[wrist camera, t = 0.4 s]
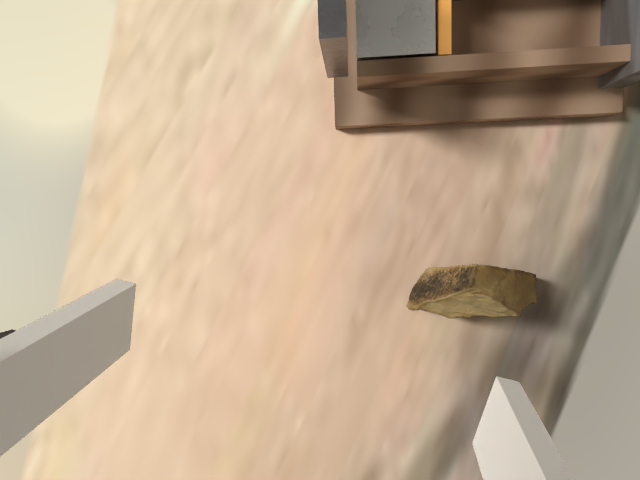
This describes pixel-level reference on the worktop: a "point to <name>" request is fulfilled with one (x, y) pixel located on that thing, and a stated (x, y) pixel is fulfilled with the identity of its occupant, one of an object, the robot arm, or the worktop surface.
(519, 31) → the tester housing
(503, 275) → the rock
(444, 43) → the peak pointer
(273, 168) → the worktop surface
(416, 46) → the push plunger
